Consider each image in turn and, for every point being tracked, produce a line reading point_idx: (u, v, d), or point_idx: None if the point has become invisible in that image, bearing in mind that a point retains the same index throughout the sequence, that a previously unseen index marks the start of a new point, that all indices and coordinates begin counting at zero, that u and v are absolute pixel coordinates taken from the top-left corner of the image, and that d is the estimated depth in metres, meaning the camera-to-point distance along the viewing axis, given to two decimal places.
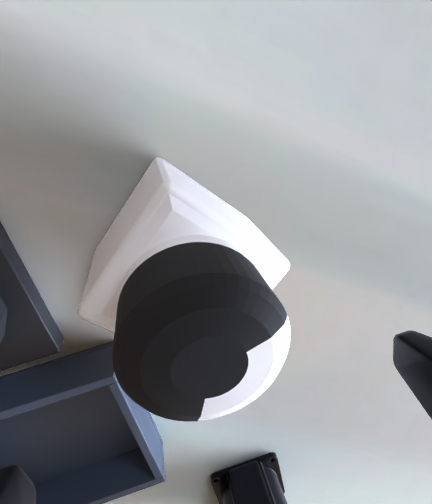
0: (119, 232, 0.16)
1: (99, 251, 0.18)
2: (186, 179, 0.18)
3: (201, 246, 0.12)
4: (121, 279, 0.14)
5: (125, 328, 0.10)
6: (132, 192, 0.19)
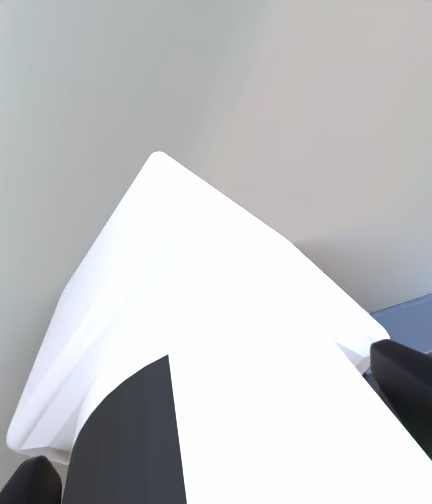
0: None
1: None
2: (69, 294, 0.11)
3: None
4: None
5: None
6: None
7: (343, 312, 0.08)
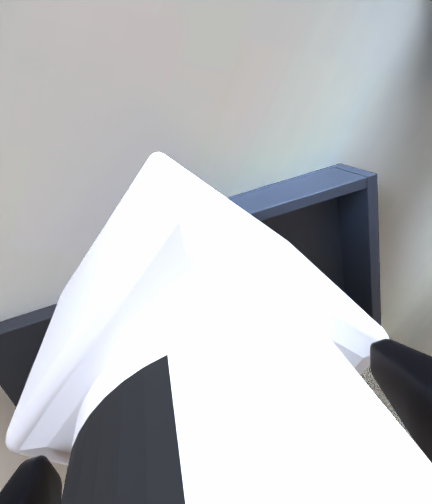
0: None
1: None
2: (68, 294, 0.11)
3: None
4: None
5: None
6: None
7: (342, 312, 0.08)
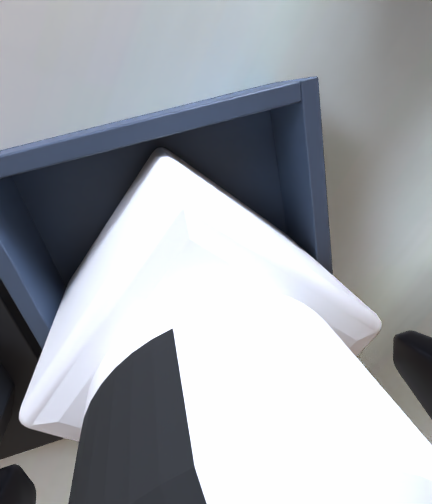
0: None
1: None
2: (75, 283, 0.12)
3: None
4: None
5: None
6: None
7: (336, 296, 0.09)
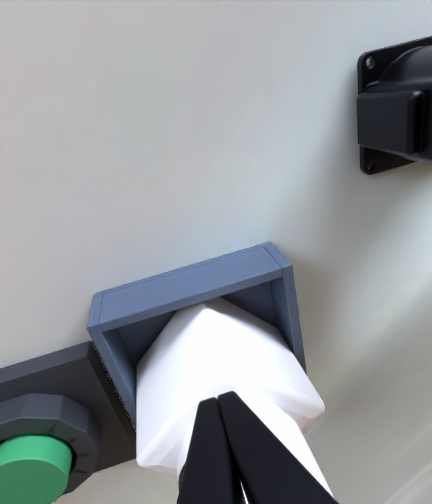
0: None
1: None
2: (149, 374, 0.20)
3: None
4: None
5: None
6: None
7: (298, 398, 0.16)
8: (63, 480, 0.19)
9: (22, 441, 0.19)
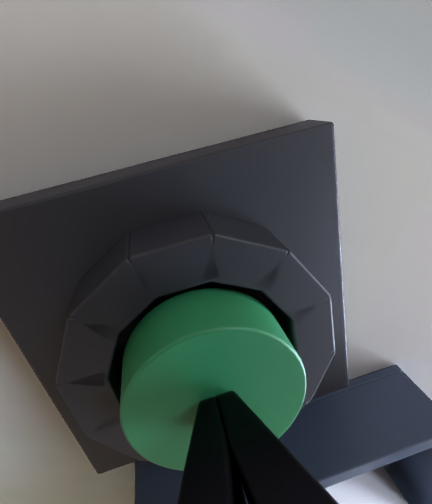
0: None
1: None
2: (341, 489, 0.13)
3: None
4: None
5: None
6: None
7: None
8: None
9: None
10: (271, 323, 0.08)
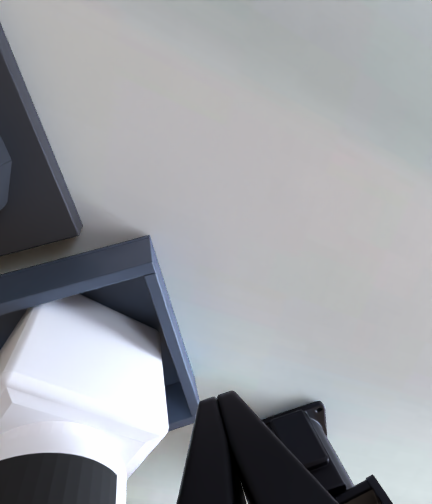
0: None
1: None
2: (70, 317, 0.16)
3: (26, 466, 0.11)
4: None
5: None
6: (22, 317, 0.18)
7: None
8: None
9: None
10: None
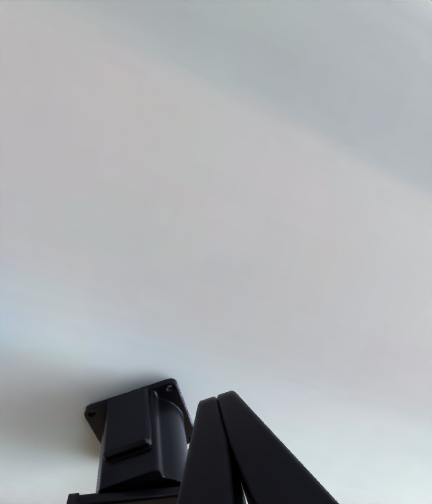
0: None
1: None
2: None
3: None
4: None
5: None
6: None
7: None
8: None
9: None
10: None
